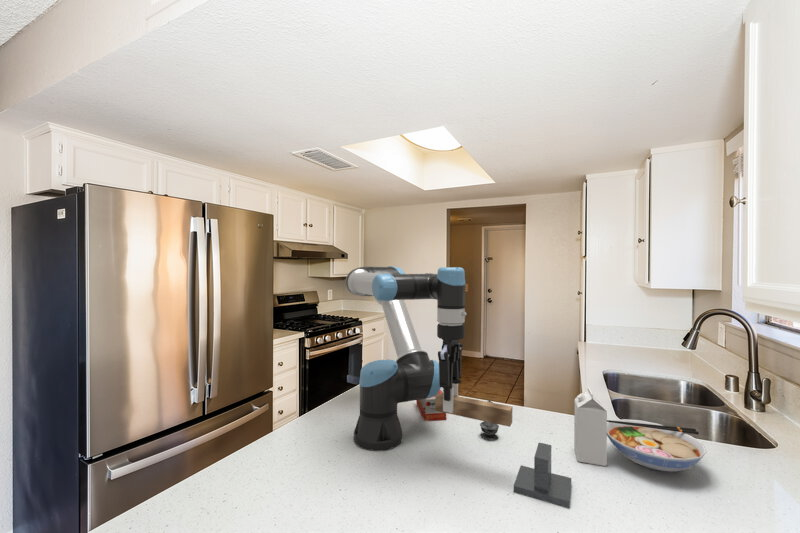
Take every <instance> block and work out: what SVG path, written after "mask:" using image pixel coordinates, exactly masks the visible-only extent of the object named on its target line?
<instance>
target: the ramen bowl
mask: <svg viewBox="0 0 800 533" xmlns="http://www.w3.org/2000/svg"><path fill="white" fill-rule="evenodd" d="M690 434H693V435H699V434H700V432H699V431H697V429H696V428H691V427H682V426H671V425H670V426H669V425H663V424H661V423H656V422H652V421H646V420H641V419H625V418H622V419H614V420H610V419H607V439H609V441H610V443H611V444H612V445H613V446H614V447H615V449H616V450H618V451H619V452H618V453H620V454H621V455H622V456H624V457H625V458H627V459H629V461H632V462H633V463H636V464H638V465H640V466H642V467H645V468H647V469H649V470H653V471H658V472H659V471H661V472H680V471H686V470H689V469H691V468H692V467H695V465H696V464H698V463H699V462H700V461H701V459H703V457H704V456H705V455H706V453H707V450H706V448H705V445H704V444H703V443H702V442H701V441H699V440H698V439H697V438H695V437H694V436H692V435H690Z"/></svg>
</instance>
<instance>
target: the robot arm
mask: <svg viewBox="0 0 800 533" xmlns="http://www.w3.org/2000/svg"><path fill="white" fill-rule="evenodd" d="M465 273H466V272H465V269H464V268H463V267H459V266H458V267H457V266H456V267H452V266H451V267H450V266H449V267H447V266H446V267H445V266H444V267H441V266H440V267H438V269H437V273H430V272H429V273H428V272H427V273H405V272H404V270H403V269H402V268H400V267H398V266H360V267H356V268H354V269H352V270H351V271H349V273H348V274H347V275H346V277H345V287H346V289H347V291H348V292H349V293H351V294H352V295H354V296H359V297H374V299H375V300H376V302H377V304H378V305H381V307H382V309H383V310H382V311H383V312H384V317H385V319H386V322H387V325H388V330H389V334H390V337H391V339H392V343H393V346H394V350H395V353H396V356H397V357H396V358H397V359H396V360H393V359H378V360H374V361H370V362H368V363H366V364H365V365H364V366H362V367H361V369H360V373H359V375H360V376H359V381H358V382H359V383H358V384H359V414H358V418H357V421H356V425H355V427H354V431H353V442H354V444H355V445H356V446H357V447H359V448H361V449H363V450H367V451H375V452H376V451H377V452H378V451H379V452H380V451H388V450H391V449H393V448H396V447H398V446H399V445H401V443H402V442H403V439H404V438H403V436H404V435H403V433H404V432H403V428H402V424H401V422H400V421H401V420H400V419H399V414H398V404H400V403H407V402H413V401H416V400H420V399H427V398H430V397H434V396H436V395H437V394H438V392H439V391H440V390H441V388H442V392H443V411H444V412H449V413H453V400H454V396H459V384H460V385H461V384H462V380H461V378H462V360H463V359H462V358H463V357H462V355H463V346H464V344H463V343H460V340H463V339H465V337H466V326H465V321H466V316H467V314H468V313H467V312H466V310H465V307H466V282H467V281H466V278H465V277H466V276H465ZM406 300H407V301H408V300H411V301H412V300H413V301H414V300H416V301H417V300H437V304H436V307H437V309H436V311H437V312H436V321H437V322H438V324H437V326H436V331H437V332H436V336H437V338H439V339H441V340H442V345H441V351H440V350H439V351H438V352H437V358H438V361H437V360H435V359H430V356H429V354H428V352H426V351H425V350H422V348H421V344H420V342H419V339H418V336H417V333H416V331H415V328H414V325H413V322H412V319H411V316H410V313H409V310H408V307H407V305H406V302H405V301H406Z"/></svg>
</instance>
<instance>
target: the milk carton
mask: <svg viewBox="0 0 800 533" xmlns="http://www.w3.org/2000/svg"><path fill="white" fill-rule="evenodd" d="M573 418H574V419H573V420H574V421H573V423H574V427H573V429H574V430H573V431H574V433H573V434H574V437H573V438H574V439H573V440H574V441H573V446H574V448H573V450H574V454H575V458H576V461H577V462H579V463H584V464H590V465H597V466H602V467H607V466H608V465H607V462H608V460H607V455H608V454H607V453H608V452H607V451H608V449H607V448H608V446H607V445H608V444H607V442H608V441H607V440H608V436H607V423H608V422H607V420H608V410H607V409H606V407H605V405H604V403H603V402H602V401H601V400H600V399H599V398H598V397H597V396H595V395H594V394H593V393H592V391H591V389H590V387H589V386H587V390H586V391H585V392H581V393H579V394H578V395H577V396H576V397H575V398H574V417H573Z"/></svg>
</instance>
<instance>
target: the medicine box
mask: <svg viewBox="0 0 800 533" xmlns="http://www.w3.org/2000/svg"><path fill="white" fill-rule="evenodd" d="M439 393H443V390H442V389H440V391H439V392H438V394H439ZM438 394H437V395H438ZM415 402H416V403H415V404H416V407H417V408H418V409H417V410H418V412H419V413H420V415H421V416H422V419H423V421H424V422H431V421H446V420H447V413H443V412H439V411H435V396H434V397H430V398H427V399H420V400H415Z"/></svg>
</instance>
